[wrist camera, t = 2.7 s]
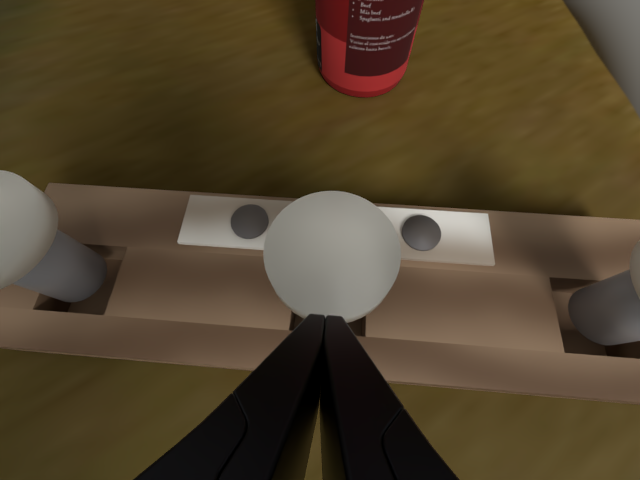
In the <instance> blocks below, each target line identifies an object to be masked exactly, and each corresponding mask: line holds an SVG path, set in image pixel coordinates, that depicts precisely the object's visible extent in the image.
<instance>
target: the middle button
mask: <svg viewBox="0 0 640 480" xmlns="http://www.w3.org/2000/svg"><path fill="white" fill-rule="evenodd" d="M263 256H264V265H265V270H266V273H267V276H268V278H269V280H270V282H271V284H272V286H273V288H274V290H275V292H276V294H277V295H278V297H279V298H280V300H281V301H282V302H283V303H284V304H285V305H286V306H287V308H289V309H290V310H291V311H292V312H294V313H295V314H297V315H298V316H300V317H302V318H304V319H305V318H306V317H307V316H308V315H309V314H322V315H325V319H326V316H327V315H335V316H342V317H343V318H344V320H345V321H346V323H349V322H353V321H355V320H358V319H360V318H362V317H364V316H366V315H367V314H369V313H370V312H372V311H373V310H374V309H375V308H376V307H377V306H378V305H379V304H380V303H381V302H382V301H383V299H384V298H385V297H386V295H387V294H388V292H389V290H390V289H391V287H392V286H393V284H394V282H395V280H396V278H397V275H398V272H399V268H400V263H401V249H400V242H399V238H398V235H397V233H396V230H395V228H394V226H393V225H392V223H391V221H390V220H389V219H388V217H387V216H386V215H385V214H384V213H383V212H382V211H381V210H380V209H379V208H378V207H377V206H376V205H374V204H373V203H371V202H370V201H368V200H366V199H364V198H362V197H360V196H357V195H354V194H351V193H347V192H341V191H322V192H316V193H312V194H309V195H306V196H303V197H301V198H299V199H297V200H295V201H294V202H292V203H291V204H289V205H288V206H287V207H285V208H284V209H283V210H282V211H281V212H280V213H279V214H278V215H277V217H276V218H275V219H274V221H273V222H272V224H271V226H270V228H269V230H268V232H267V235H266V238H265V243H264V251H263Z"/></svg>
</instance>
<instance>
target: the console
mask: <svg viewBox="0 0 640 480" xmlns="http://www.w3.org/2000/svg"><path fill="white" fill-rule="evenodd" d="M44 193H45V194H46V195H47V196H49V197H50V198H51V200H52V201H53V202H54V204H55V206H56V209H57V213H58V228H57V229H58V230H60V231H61V232H63V233H65V234H66V235H68V236H70V237H71V238H73V239H75V240H76V241H78V242H80V243H81V244H83V245H85V246H86V247H88V248H90V249H91V250H93V251H95V252H96V253H98V254H99V255H101V256H102V257H103V258H104V260H105V262H106V265H107V273H106V277H105V280H104V282H103V284H102V285H101V287H100V288H99V289H98V290H97V291H96V292H95V293H94V294H93V295H91V296H90V297H88V298H86V299H84V300H82V301H78V302H64V301H61V300H58V299H55V298H53V297H50V296H47V295H44V294H41V293H38V292H35V291H32V290H29V289H26V288H23V287H20V286H17V285H14V284H11V285H9V286H7V287H5V288H2V289H0V348H4V349H12V350H20V351H32V352H43V353H55V354H66V355H77V356H89V357H100V358H112V359H123V360H135V361H146V362H158V363H169V364H181V365H192V366H203V367H215V368H226V369H238V370H249V371H254V370H255V369H256V368H257V367H258V366H259V365H260V364H261V363H262V361H263V360H264V359H265V358H266V357H267V356H268V355H269V354H270V353H271V352H272V351H273V350H274V349H275V348H276V347H277V346H278V345H279V344H280V343H281V342H282V341H283V340H284V339H285V338H286V337H287V336H288V335H289V334H290V333H291V332H292V331H293V330H294V329H295V328H296V327H297V326H298V325H299V324H300V323H301V322H302V321H303V320H304V318H302V317H300V316H298V315H297V314H295V313H294V312H292V311H291V310H290V309H289V308H287V306H286V305H285V304H284V303H283V302H282V301H281V300H280V298H279V297H278V295H277V294H276V292H275V290H274V288H273V286H272V284H271V282H270V280H269V278H268V276H267V273H266V270H265V265H264V256H263V251H264V243H265V238H266V235H267V232H268V230H269V228H270V226H271V224H272V222H273V221H274V219H275V218H276V217H277V215H278V214H279V213H280V212H281V211H282V210H283V209H284V208H285V207H287V206H288V205H289V204H291V203H292V202H294V201H295V200H297V199H299V198H283V197H267V196H251V195H235V194H219V193H203V192H188V191H172V190H156V189H140V188H124V187H108V186H92V185H76V184H61V183H48V185H47V188H46V190H45V192H44ZM373 204H374V205H376V206H377V207H378V208H379V209H380V210H381V211H382V212H383V213H384V214H385V215H386V216H387V217H388V219H389V220H390V221H391V223H392V225H393V226H394V228H395V230H396V233H397V235H398V238H399V242H400V249H401V263H400V268H399V272H398V275H397V278H396V280H395V282H394V284H393V286H392V287H391V289H390V290H389V292H388V294H387V295H386V297H385V298H384V299H383V301H382V302H381V303H380V304H379V305H378V306H377V307H376V308H375V309H374V310H373V311H372V312H370V313H369V314H367V315H366V316H364V317H362V318H360V319H358V320H355V321H353V322H349V323H347V324H348V326H349V327H350V329H351V330H352V331H353V333H354V334H355V336H356V337H357V339H358V340H359V342H360V343H361V345H362V346H363V348H364V349H365V350H366V352H367V353H368V355H369V356H370V358H371V359H372V361H373V362H374V364H375V365H376V367H377V368H378V370H379V371H380V372H381V374H382V375H383V377H384V378H385V380H386V381H387V383H398V384H410V385H421V386H432V387H444V388H455V389H467V390H478V391H490V392H501V393H513V394H524V395H536V396H547V397H558V398H570V399H581V400H593V401H604V402H616V403H627V404H639V405H640V341H636V342H629V343H623V344H617V345H601V344H598V343H595V342H593V341H591V340H589V339H587V338H586V337H585V336H583V335H582V334H581V333H580V332H579V331H578V330H577V329H576V327H575V326H574V324H573V323H572V321H571V318H570V316H569V311H568V303H569V300H570V297H571V296H572V294H573V293H574V292H576V291H577V290H579V289H581V288H584V287H586V286H589V285H591V284H594V283H596V282H599V281H601V280H604V279H606V278H609V277H612V276H614V275H617V274H619V273H622V272H624V271H627V270H629V269H630V267H629V266H630V257H631V253H632V250H633V248H634V246H635V245H636V243H637V242H638V241H639V240H640V220H632V219H616V218H600V217H584V216H569V215H553V214H537V213H521V212H505V211H489V210H473V209H457V208H442V207H426V206H410V205H394V204H378V203H373Z"/></svg>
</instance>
